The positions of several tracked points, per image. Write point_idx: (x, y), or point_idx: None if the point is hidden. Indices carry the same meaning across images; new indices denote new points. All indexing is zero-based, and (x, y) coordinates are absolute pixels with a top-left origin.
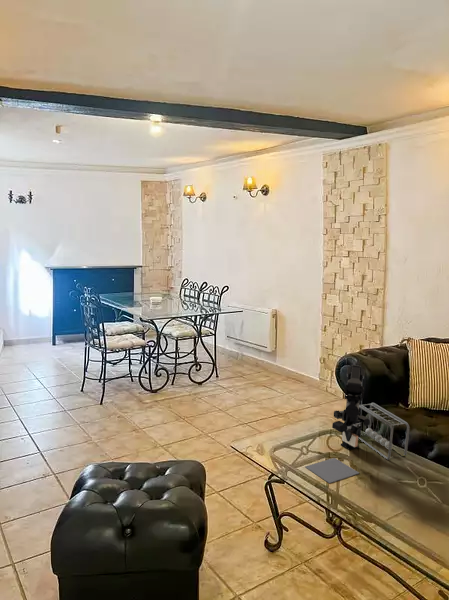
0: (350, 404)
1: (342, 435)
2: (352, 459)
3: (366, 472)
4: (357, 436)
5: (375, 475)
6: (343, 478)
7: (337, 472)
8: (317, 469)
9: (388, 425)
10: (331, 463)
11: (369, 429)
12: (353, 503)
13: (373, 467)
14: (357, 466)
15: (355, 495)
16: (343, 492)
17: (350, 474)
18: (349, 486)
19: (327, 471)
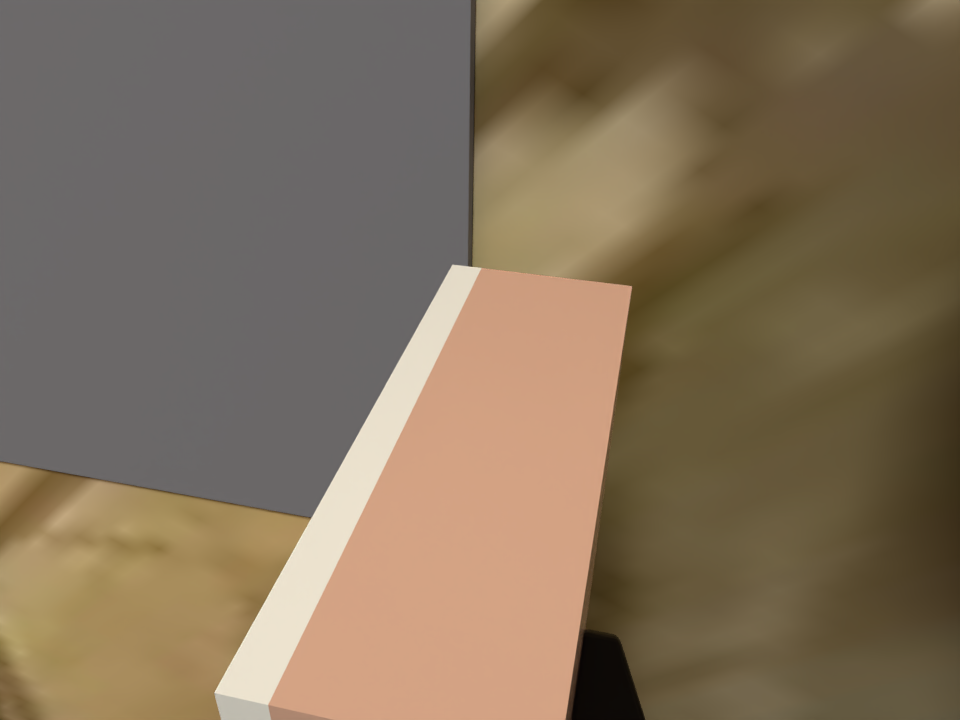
0: None
1: (378, 409)
2: (815, 201)
3: (594, 574)
4: None
5: (634, 667)
6: (163, 485)
7: (161, 364)
8: None
9: None
10: (239, 98)
11: None
12: (28, 713)
13: (841, 573)
14: (635, 414)
15: (111, 683)
16: (22, 603)
17: (311, 496)
18: (144, 591)
19: (24, 257)
